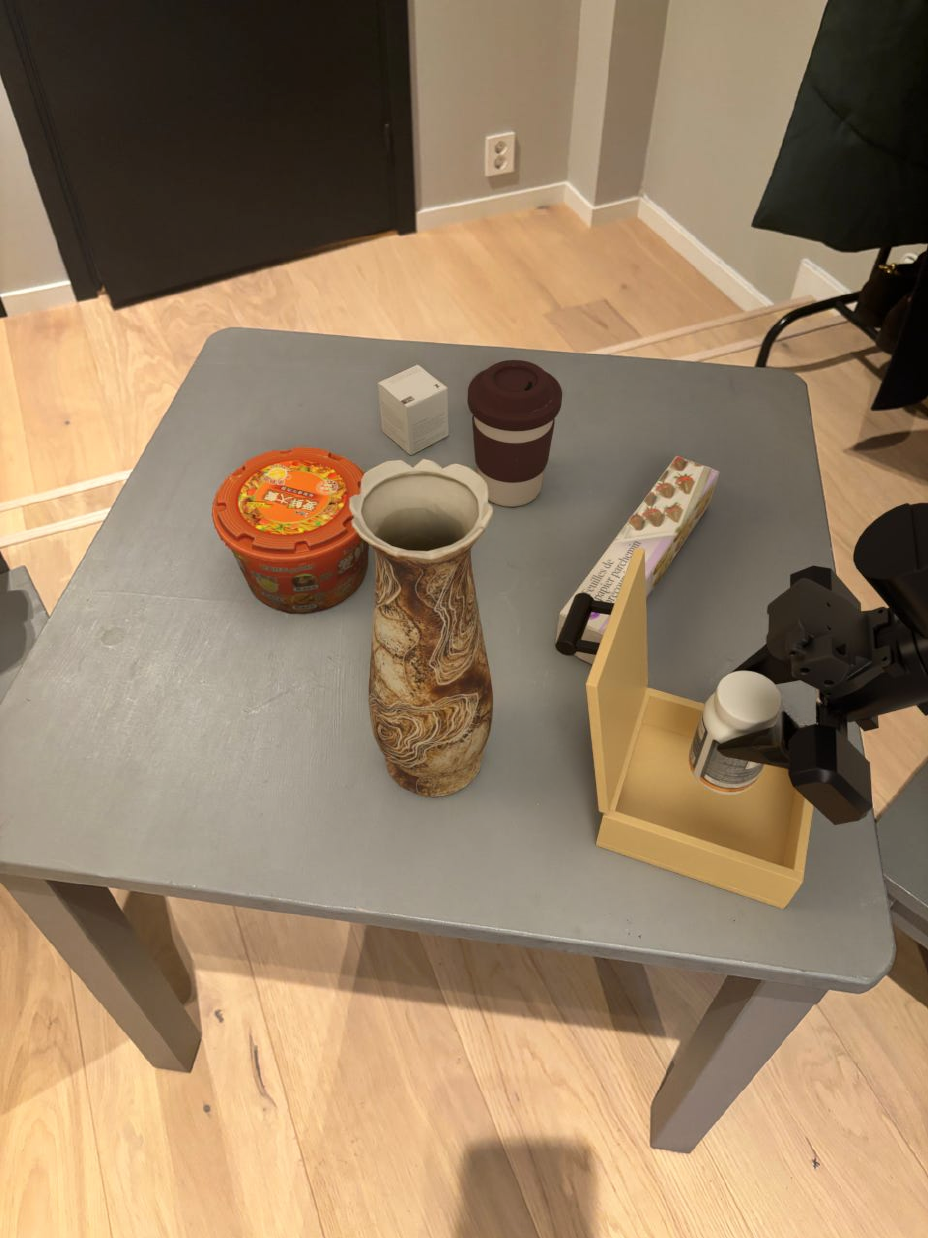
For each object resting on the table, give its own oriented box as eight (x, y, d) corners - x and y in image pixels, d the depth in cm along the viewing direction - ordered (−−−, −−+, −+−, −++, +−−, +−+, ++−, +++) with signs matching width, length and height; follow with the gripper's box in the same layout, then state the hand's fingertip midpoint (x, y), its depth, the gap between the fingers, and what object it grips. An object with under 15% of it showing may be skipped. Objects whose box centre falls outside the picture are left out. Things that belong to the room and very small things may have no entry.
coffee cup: (450, 481, 105) (448, 371, 93) (516, 448, 108) (522, 339, 97) (502, 529, 100) (508, 419, 88) (570, 493, 103) (583, 383, 92)
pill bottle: (773, 771, 72) (807, 701, 65) (724, 811, 70) (754, 742, 62) (720, 724, 75) (747, 652, 68) (671, 760, 73) (694, 689, 65)
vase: (376, 806, 78) (339, 570, 55) (375, 705, 84) (342, 456, 62) (496, 799, 78) (509, 561, 55) (485, 698, 85) (493, 450, 62)
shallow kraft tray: (805, 770, 80) (823, 738, 76) (783, 910, 72) (803, 882, 68) (634, 718, 84) (643, 685, 79) (595, 845, 75) (602, 815, 71)
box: (600, 670, 87) (607, 634, 83) (552, 647, 89) (557, 610, 85) (710, 507, 102) (721, 469, 97) (667, 490, 104) (676, 452, 99)
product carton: (420, 412, 113) (417, 362, 107) (450, 436, 110) (449, 386, 104) (380, 431, 111) (376, 381, 105) (410, 457, 107) (407, 406, 102)
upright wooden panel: (645, 548, 67) (588, 540, 69) (597, 686, 59) (533, 674, 61) (648, 683, 79) (599, 674, 81) (608, 814, 71) (555, 801, 72)
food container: (217, 625, 91) (192, 551, 82) (246, 515, 101) (227, 439, 93) (374, 629, 90) (365, 555, 82) (388, 518, 101) (381, 443, 92)
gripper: (863, 478, 60) (669, 565, 70) (878, 703, 48) (643, 768, 59) (940, 578, 65) (749, 645, 75) (971, 804, 53) (739, 848, 63)
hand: (722, 717), depth 68 cm, fingers closed on pill bottle, 6 cm apart
